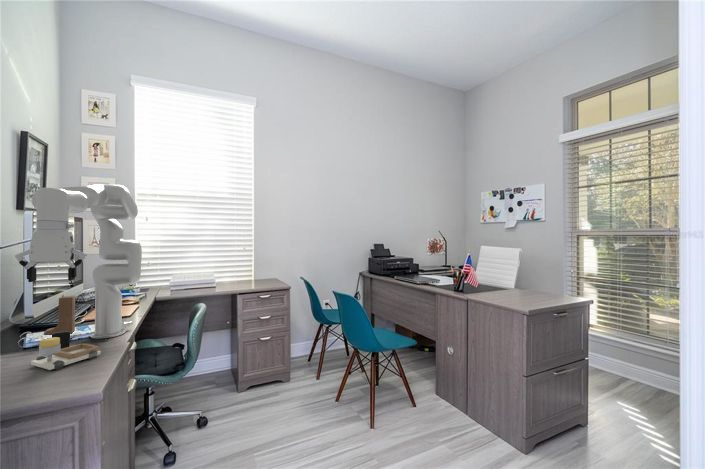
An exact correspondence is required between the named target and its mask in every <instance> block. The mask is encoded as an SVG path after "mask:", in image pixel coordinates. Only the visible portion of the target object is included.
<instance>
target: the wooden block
mask: <svg viewBox="0 0 705 469" xmlns="http://www.w3.org/2000/svg"><path fill="white" fill-rule="evenodd" d="M61 331H70V334H72V333H73V332H74V331H75V332H76V296H75V295H64V296H63V295H62V296H61V297H59V298H58V321H57V325H56V326H55V327H51V328H47V329H46V330H45V331H44V332H43V336H44V335H52V333H55V332H61Z"/></svg>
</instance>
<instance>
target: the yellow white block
mask: <svg viewBox="0 0 705 469" xmlns="http://www.w3.org/2000/svg"><path fill="white" fill-rule="evenodd" d="M58 352H61V344H60V338H59V337H53V338H47V339H44V338H43V339H41V340H39V346H38V355H40V356H45V357H47V355H51V354H54V353H58Z"/></svg>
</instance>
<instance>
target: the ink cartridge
mask: <svg viewBox="0 0 705 469" xmlns="http://www.w3.org/2000/svg"><path fill="white" fill-rule="evenodd" d="M53 337H59V338H60V344H61V349H63V348H67V347H70V343H71V342H70V341H71V339H70V331H61V332H55V333H52V338H53ZM52 355H55V353H54V354H52Z"/></svg>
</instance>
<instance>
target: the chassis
mask: <svg viewBox="0 0 705 469" xmlns="http://www.w3.org/2000/svg"><path fill="white" fill-rule="evenodd" d="M101 351H102V350H100V345H94V344H89V343H79V344H74V345H69V347H67V348H63V349H61V352H58V353H55V355H52V354H51V355H47V356H44V355H40V356H38V357H36V359H33V360H31V361H30V365H31V366H35V367H38V368H41V369H45V370H48V371H51V370H57V371H59V370H61V369H62V368H64V367H65V366H67V365H71V364H74V363H76V362H80V361H82V360H86V359H90V360H93V359H95V358H96V357H97V356H99V355H101V354H102V352H101Z"/></svg>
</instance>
